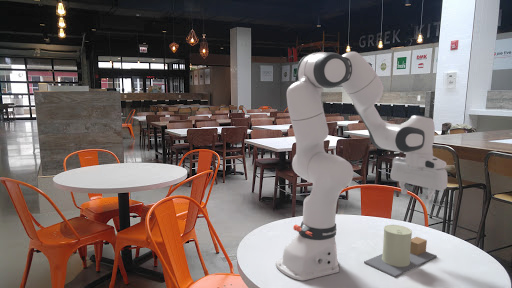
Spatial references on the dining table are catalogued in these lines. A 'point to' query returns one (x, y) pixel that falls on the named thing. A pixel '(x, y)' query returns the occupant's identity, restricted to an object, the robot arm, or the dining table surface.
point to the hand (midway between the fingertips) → (415, 196)
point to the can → (397, 245)
